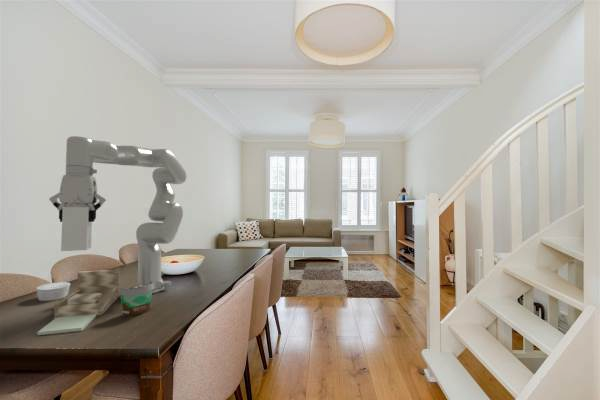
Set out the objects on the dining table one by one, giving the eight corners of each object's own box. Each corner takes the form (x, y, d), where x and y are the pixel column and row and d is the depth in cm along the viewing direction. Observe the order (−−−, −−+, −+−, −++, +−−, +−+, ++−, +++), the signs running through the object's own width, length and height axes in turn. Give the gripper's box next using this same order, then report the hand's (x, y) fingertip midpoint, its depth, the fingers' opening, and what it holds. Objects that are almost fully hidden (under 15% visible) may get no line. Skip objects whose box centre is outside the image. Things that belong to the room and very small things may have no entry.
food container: (127, 319, 100) (127, 291, 100) (118, 316, 103) (118, 288, 103) (160, 308, 110) (160, 283, 110) (151, 305, 114) (151, 280, 114)
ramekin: (50, 303, 115) (50, 290, 115) (28, 301, 117) (28, 288, 117) (76, 294, 126) (76, 282, 126) (56, 292, 128) (56, 281, 128)
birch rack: (118, 297, 123) (118, 269, 123) (101, 314, 104) (102, 281, 104) (78, 300, 118) (79, 271, 118) (54, 319, 100) (54, 284, 100)
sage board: (95, 316, 102) (95, 313, 102) (81, 330, 91) (81, 327, 91) (56, 320, 99) (56, 317, 99) (37, 335, 88) (37, 332, 88)
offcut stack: (102, 307, 112) (103, 292, 112) (96, 313, 105) (96, 297, 105) (72, 310, 109) (72, 294, 109) (63, 316, 102) (64, 300, 102)
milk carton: (60, 251, 96) (62, 195, 96) (67, 248, 102) (68, 195, 103) (86, 250, 99) (88, 195, 99) (91, 247, 105) (92, 196, 106)
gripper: (111, 174, 107) (109, 221, 107) (55, 172, 102) (53, 221, 102) (103, 172, 100) (101, 222, 100) (43, 169, 95) (41, 222, 95)
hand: (77, 221), depth 101 cm, fingers closed on milk carton, 7 cm apart
